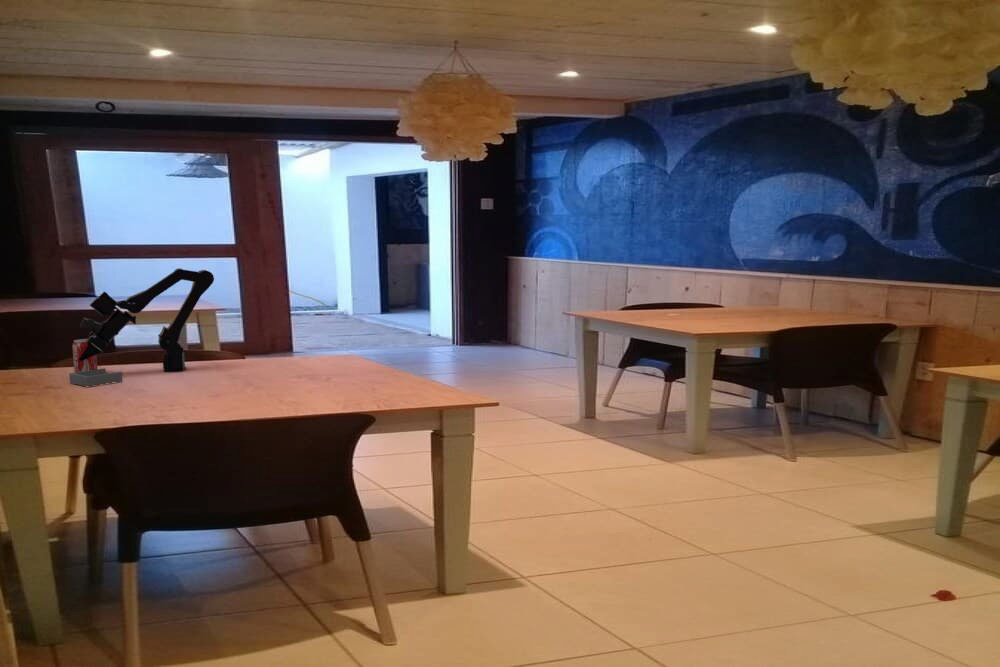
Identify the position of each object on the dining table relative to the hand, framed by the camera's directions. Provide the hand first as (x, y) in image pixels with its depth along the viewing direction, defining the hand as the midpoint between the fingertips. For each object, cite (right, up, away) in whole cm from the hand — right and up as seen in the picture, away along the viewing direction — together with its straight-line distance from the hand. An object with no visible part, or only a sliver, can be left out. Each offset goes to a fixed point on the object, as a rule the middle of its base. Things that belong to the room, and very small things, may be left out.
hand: (80, 358), depth 265 cm
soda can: (+1, -7, +2) cm, 7 cm away
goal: (+10, -8, -8) cm, 15 cm away
